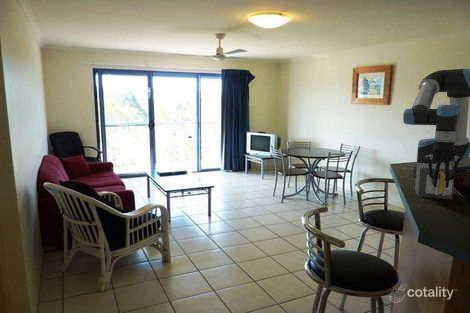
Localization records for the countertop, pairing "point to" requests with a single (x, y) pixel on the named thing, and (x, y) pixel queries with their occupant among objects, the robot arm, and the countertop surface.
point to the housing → (421, 180)
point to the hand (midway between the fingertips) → (439, 194)
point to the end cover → (441, 177)
